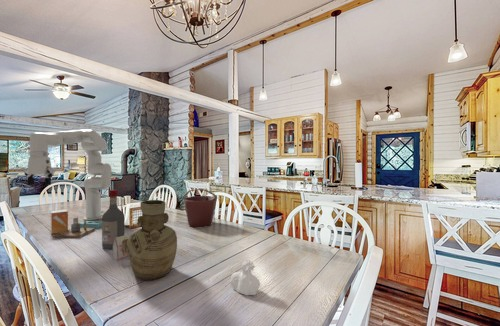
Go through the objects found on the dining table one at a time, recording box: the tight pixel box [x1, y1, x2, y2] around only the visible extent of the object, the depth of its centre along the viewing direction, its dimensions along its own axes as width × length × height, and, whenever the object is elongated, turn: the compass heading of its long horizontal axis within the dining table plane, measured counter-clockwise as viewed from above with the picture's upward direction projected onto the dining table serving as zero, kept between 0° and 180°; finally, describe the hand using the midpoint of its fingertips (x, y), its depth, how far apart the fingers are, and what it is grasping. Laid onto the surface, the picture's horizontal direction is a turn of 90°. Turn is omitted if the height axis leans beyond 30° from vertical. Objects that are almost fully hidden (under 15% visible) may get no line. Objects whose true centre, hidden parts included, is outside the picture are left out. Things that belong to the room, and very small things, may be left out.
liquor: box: [101, 189, 125, 250], centre depth 125 cm, size 9×9×30 cm
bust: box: [230, 260, 261, 296], centre depth 86 cm, size 12×8×11 cm
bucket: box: [182, 188, 218, 228], centre depth 167 cm, size 24×22×25 cm
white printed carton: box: [112, 234, 131, 261], centre depth 112 cm, size 4×7×10 cm, turn 147°
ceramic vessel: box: [122, 199, 178, 281], centre depth 97 cm, size 19×21×30 cm
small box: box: [50, 209, 69, 235], centre depth 147 cm, size 8×6×13 cm
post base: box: [54, 216, 96, 239], centre depth 143 cm, size 14×14×10 cm
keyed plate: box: [79, 220, 102, 229], centre depth 157 cm, size 14×6×3 cm, turn 89°
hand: (39, 184), depth 133 cm, fingers open, 9 cm apart
